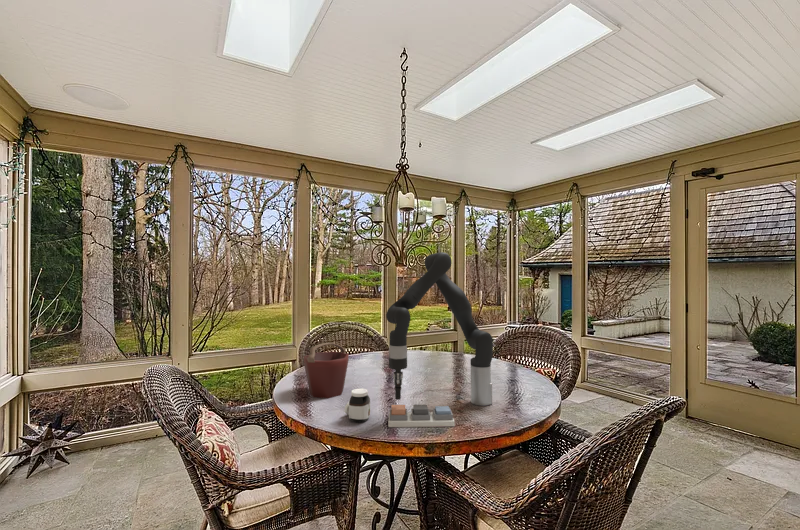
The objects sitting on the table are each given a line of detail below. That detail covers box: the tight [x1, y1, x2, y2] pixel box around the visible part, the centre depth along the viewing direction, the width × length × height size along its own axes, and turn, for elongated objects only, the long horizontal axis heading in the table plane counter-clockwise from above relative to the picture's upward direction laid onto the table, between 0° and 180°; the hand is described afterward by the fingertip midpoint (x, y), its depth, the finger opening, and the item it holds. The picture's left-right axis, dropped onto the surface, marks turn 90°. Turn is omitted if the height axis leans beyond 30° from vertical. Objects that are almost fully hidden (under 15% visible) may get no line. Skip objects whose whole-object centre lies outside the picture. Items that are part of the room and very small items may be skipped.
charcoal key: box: [412, 404, 429, 415], centre depth 156 cm, size 6×6×2 cm
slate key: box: [434, 405, 452, 415], centre depth 156 cm, size 6×6×2 cm
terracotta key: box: [391, 404, 407, 415], centre depth 156 cm, size 6×6×2 cm
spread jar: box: [343, 388, 371, 423], centre depth 161 cm, size 12×11×12 cm
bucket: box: [303, 342, 350, 399], centre depth 194 cm, size 24×22×25 cm
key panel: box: [387, 408, 456, 428], centre depth 156 cm, size 26×10×4 cm, turn 91°
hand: (397, 398), depth 156 cm, fingers closed
